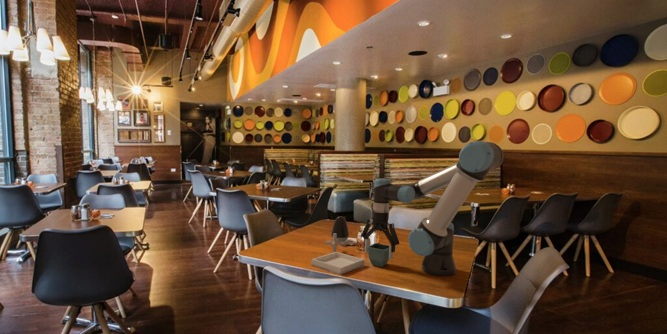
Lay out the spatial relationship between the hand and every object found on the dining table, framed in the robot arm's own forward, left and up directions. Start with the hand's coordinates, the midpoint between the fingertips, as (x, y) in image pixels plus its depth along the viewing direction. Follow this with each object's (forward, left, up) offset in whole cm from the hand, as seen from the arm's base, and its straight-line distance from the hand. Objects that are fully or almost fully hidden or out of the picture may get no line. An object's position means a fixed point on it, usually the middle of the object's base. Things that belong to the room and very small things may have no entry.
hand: (378, 255), depth 173 cm
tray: (+13, +15, -5) cm, 20 cm away
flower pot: (0, 0, -5) cm, 5 cm away
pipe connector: (+28, 0, -5) cm, 28 cm away
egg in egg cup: (+40, -19, -5) cm, 44 cm away
